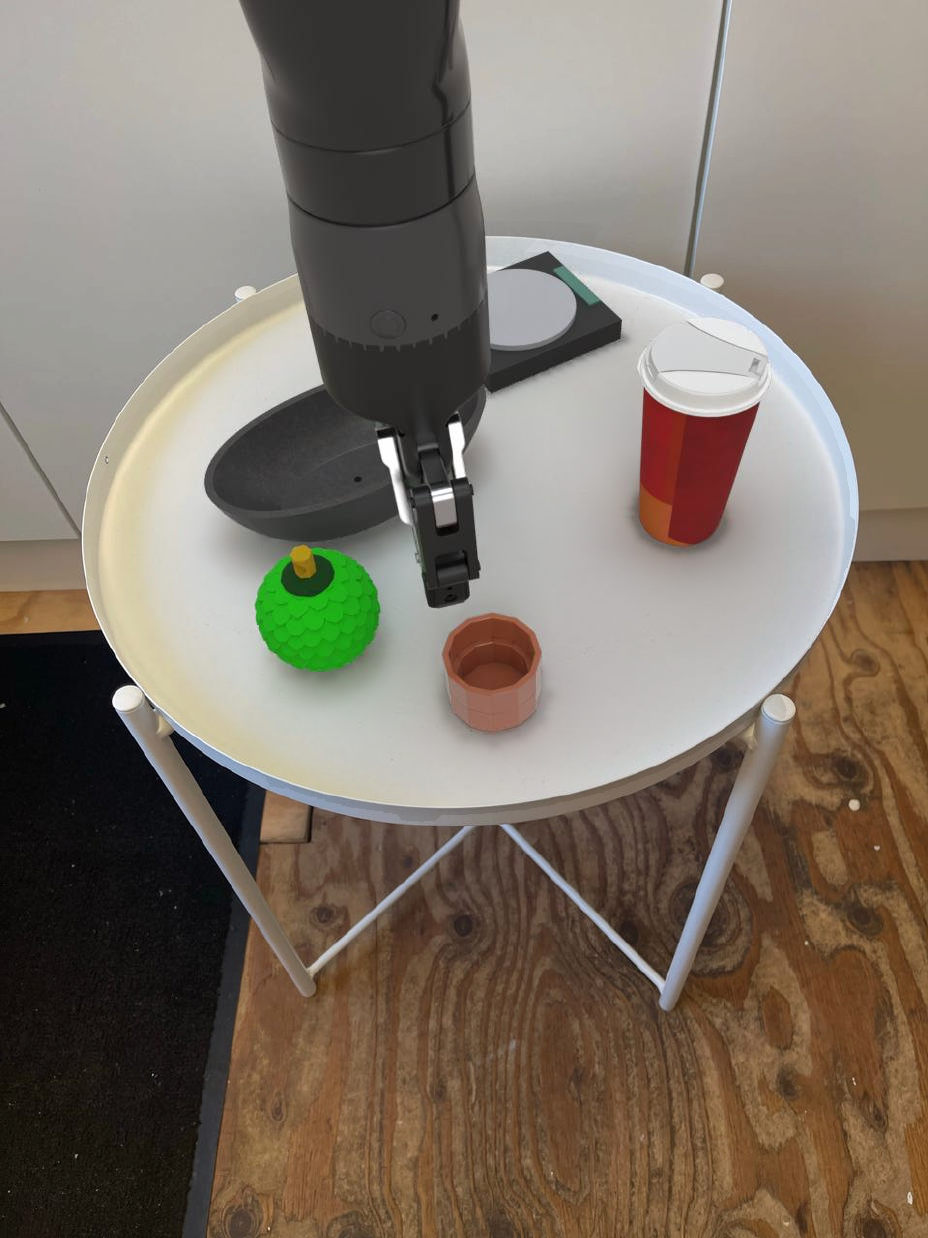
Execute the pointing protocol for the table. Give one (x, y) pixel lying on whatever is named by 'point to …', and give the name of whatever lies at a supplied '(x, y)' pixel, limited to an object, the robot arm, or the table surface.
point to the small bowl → (492, 671)
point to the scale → (542, 319)
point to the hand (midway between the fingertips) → (430, 539)
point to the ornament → (317, 609)
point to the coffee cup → (696, 423)
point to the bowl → (310, 470)
